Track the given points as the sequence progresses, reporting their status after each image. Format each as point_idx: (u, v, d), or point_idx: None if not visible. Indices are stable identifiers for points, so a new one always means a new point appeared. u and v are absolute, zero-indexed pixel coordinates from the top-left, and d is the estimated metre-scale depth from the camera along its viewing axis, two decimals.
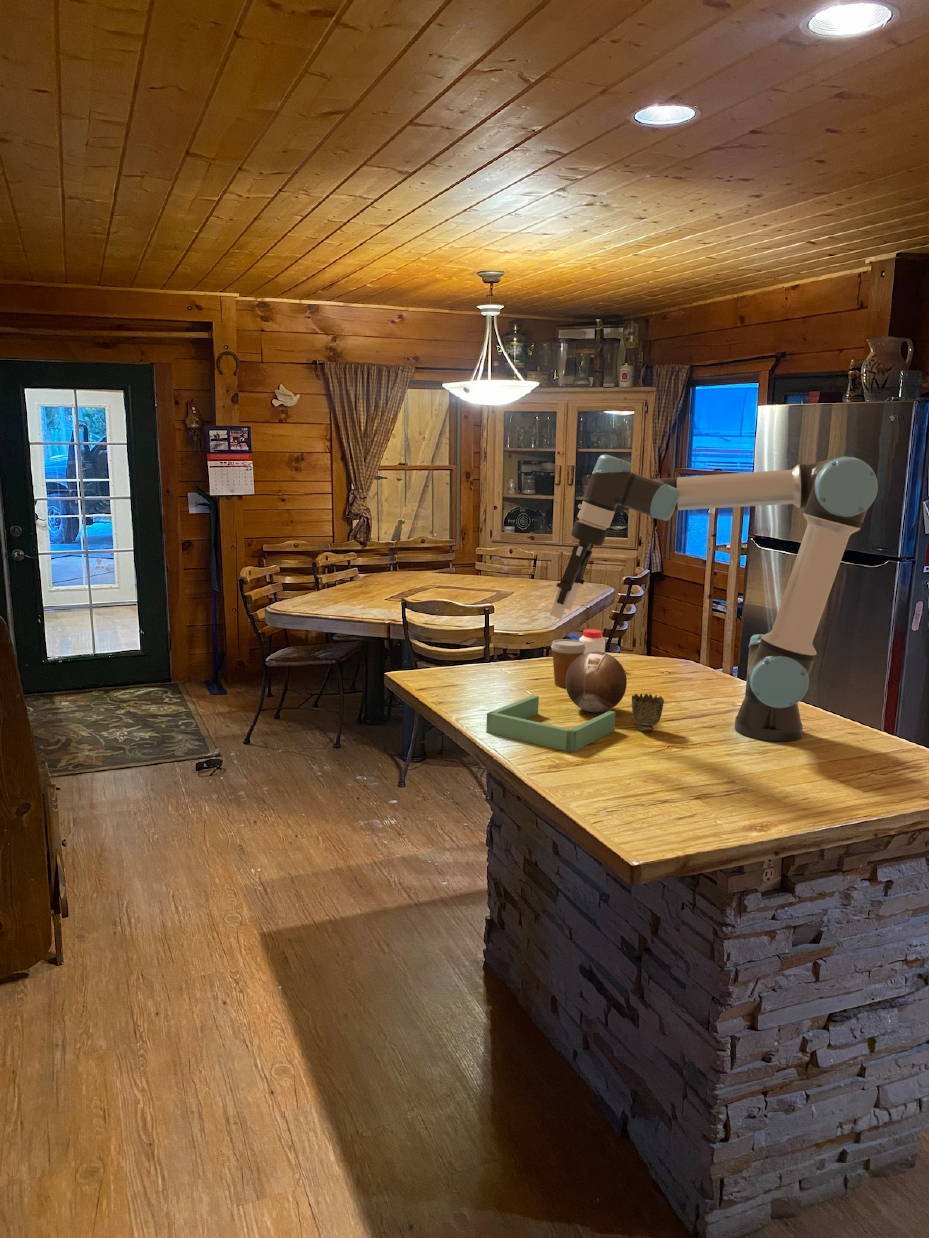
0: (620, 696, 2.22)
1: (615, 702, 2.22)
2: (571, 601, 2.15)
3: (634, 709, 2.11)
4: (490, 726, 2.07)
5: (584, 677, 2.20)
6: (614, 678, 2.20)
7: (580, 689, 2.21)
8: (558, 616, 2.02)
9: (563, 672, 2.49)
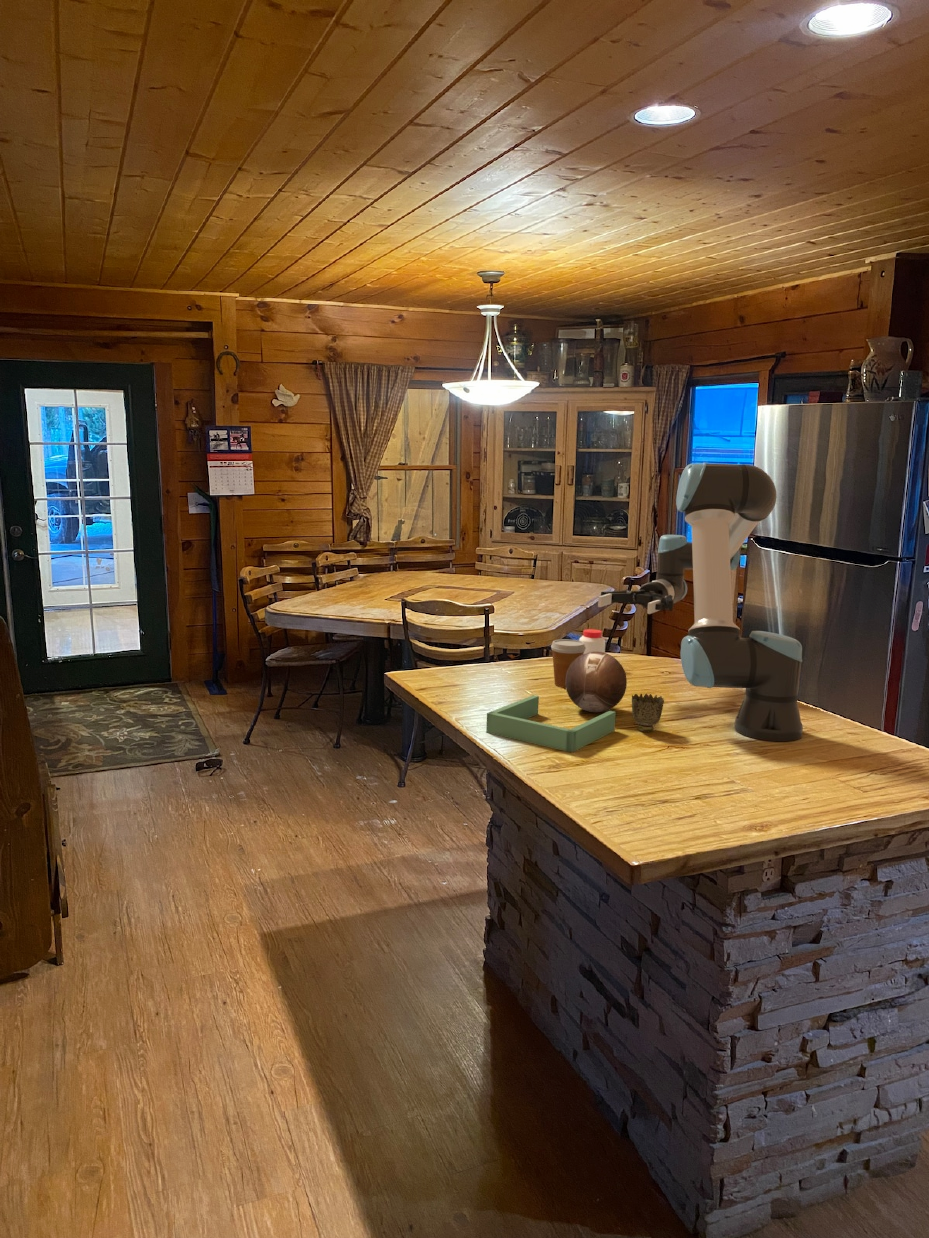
0: (620, 696, 2.22)
1: (615, 702, 2.22)
2: None
3: (634, 709, 2.11)
4: (490, 726, 2.07)
5: (584, 677, 2.20)
6: (614, 678, 2.20)
7: (580, 689, 2.21)
8: None
9: (563, 672, 2.49)
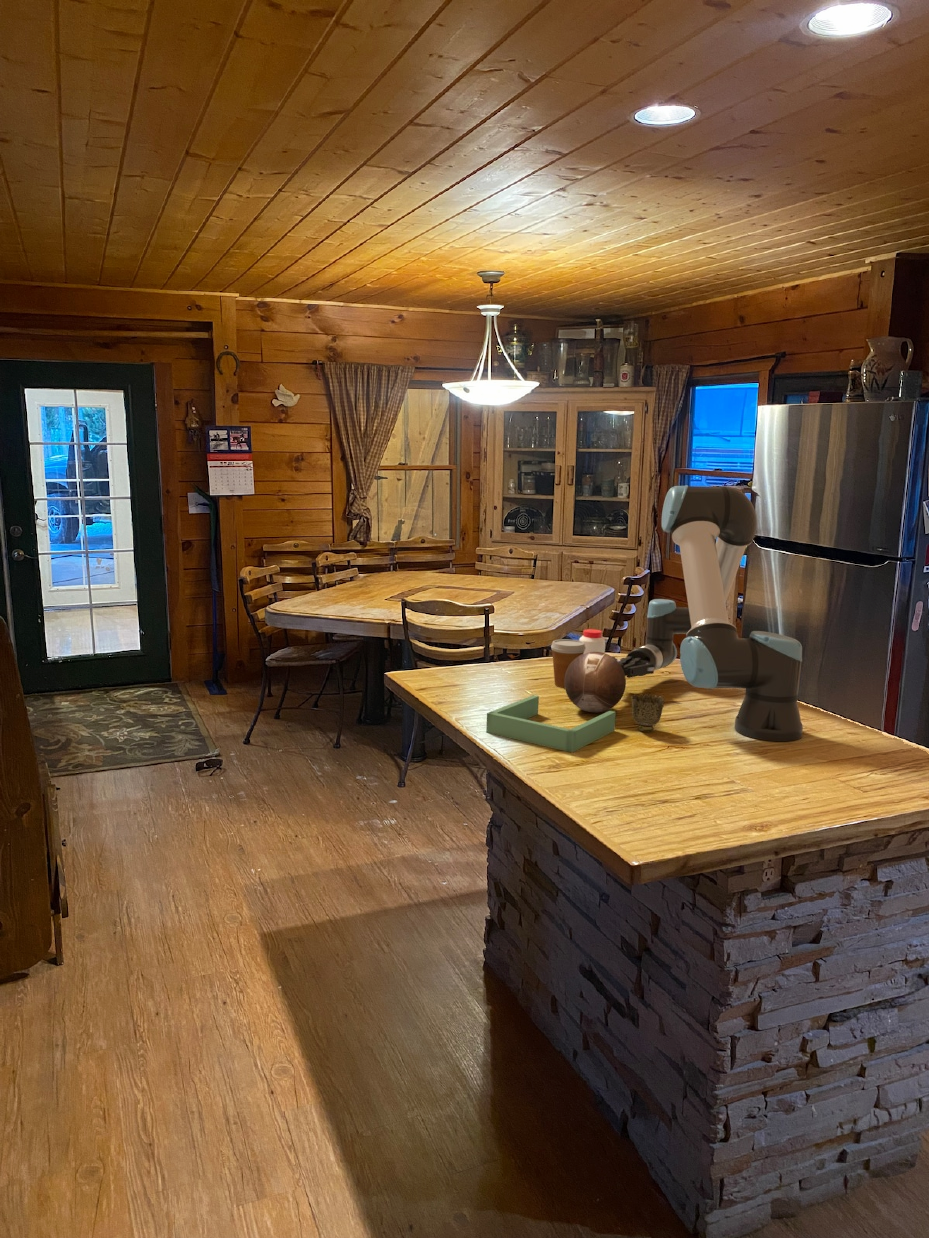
0: (619, 696, 2.22)
1: (614, 702, 2.22)
2: None
3: (634, 709, 2.11)
4: (490, 726, 2.07)
5: (583, 677, 2.20)
6: (613, 678, 2.20)
7: (580, 689, 2.20)
8: None
9: (563, 672, 2.49)
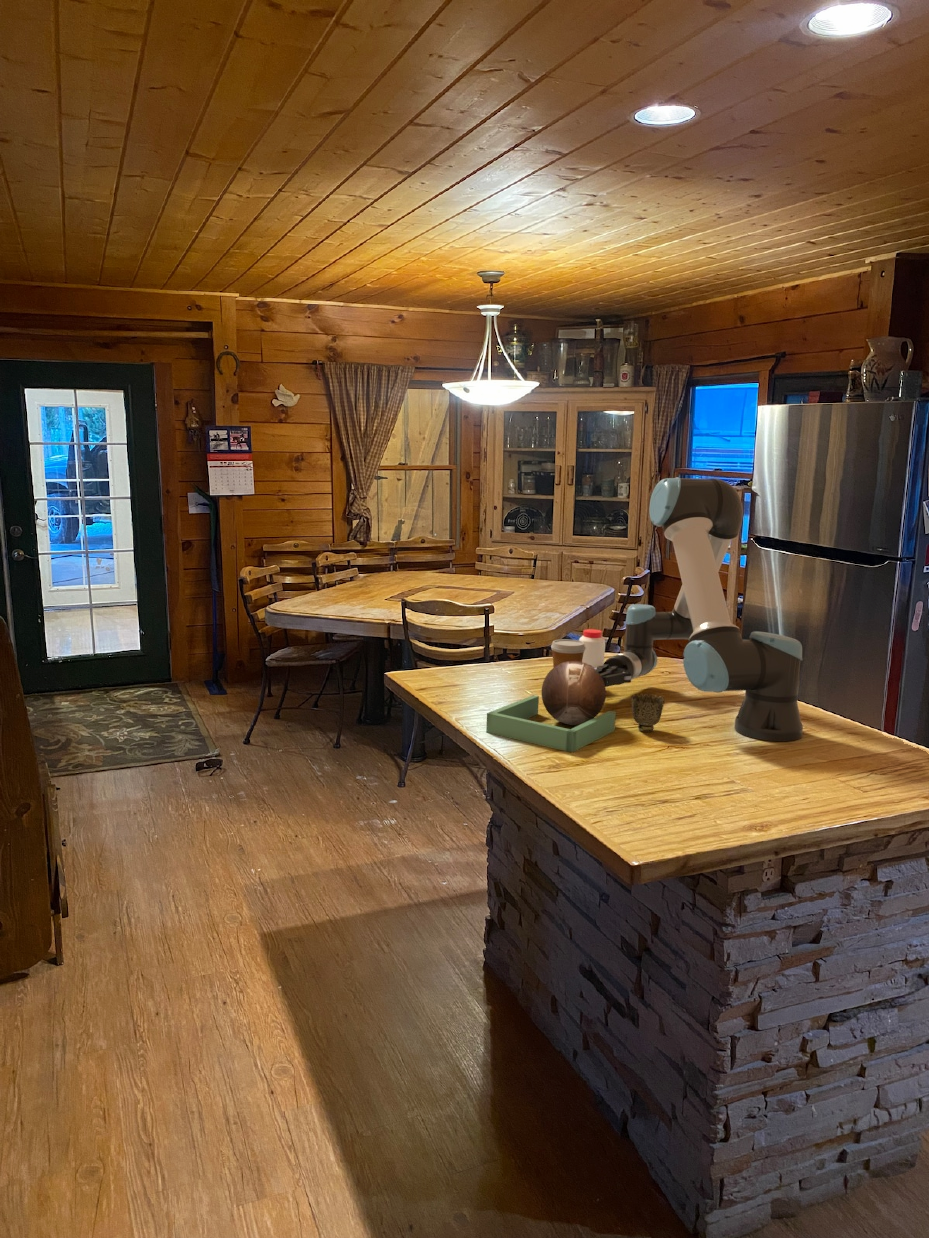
0: (601, 707, 2.12)
1: (597, 713, 2.12)
2: None
3: (634, 709, 2.11)
4: (490, 726, 2.07)
5: (566, 688, 2.08)
6: (597, 689, 2.10)
7: (563, 701, 2.09)
8: None
9: None
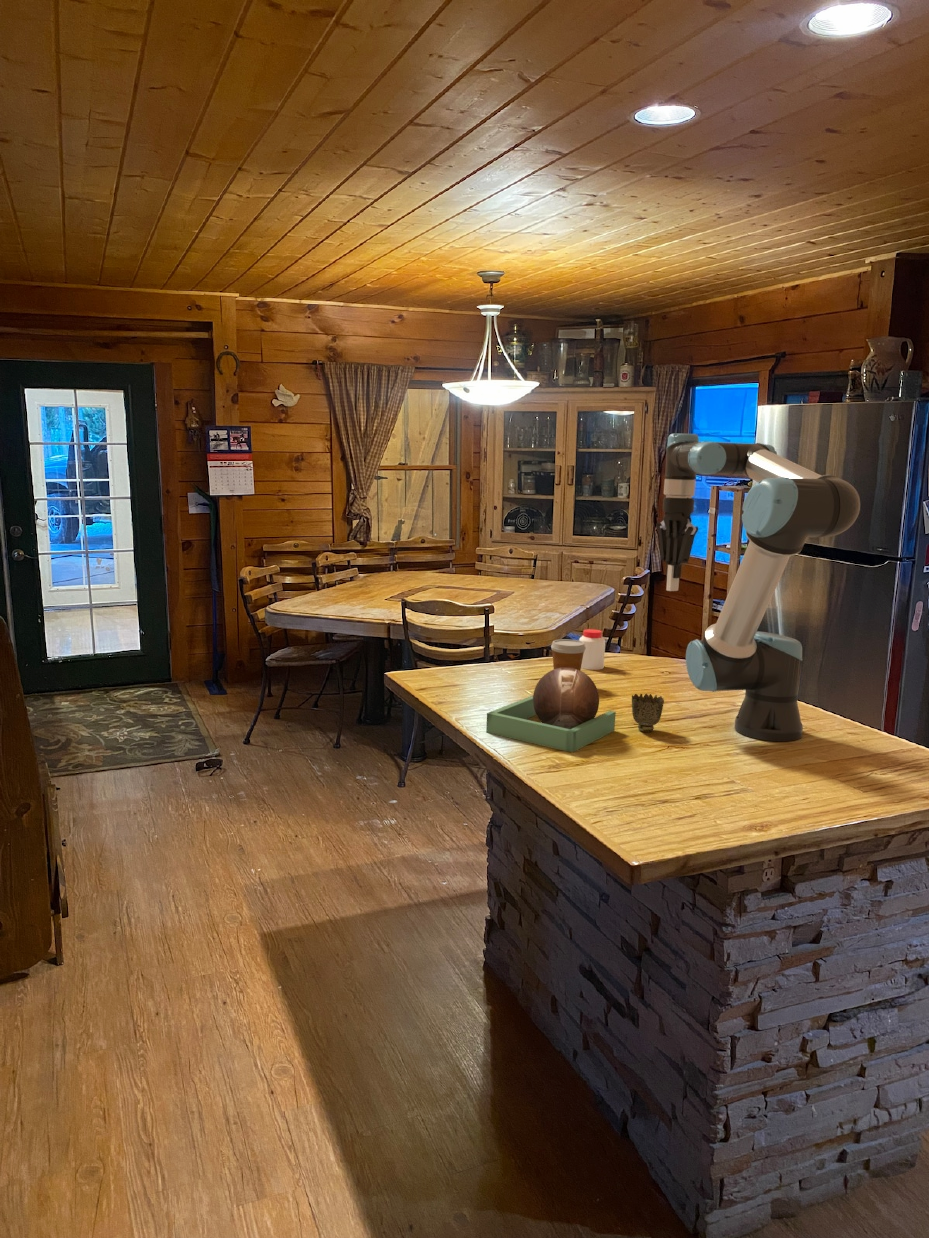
0: (595, 714, 2.06)
1: None
2: None
3: (634, 709, 2.11)
4: (490, 726, 2.07)
5: (559, 696, 2.02)
6: (590, 696, 2.03)
7: (556, 709, 2.02)
8: None
9: None
